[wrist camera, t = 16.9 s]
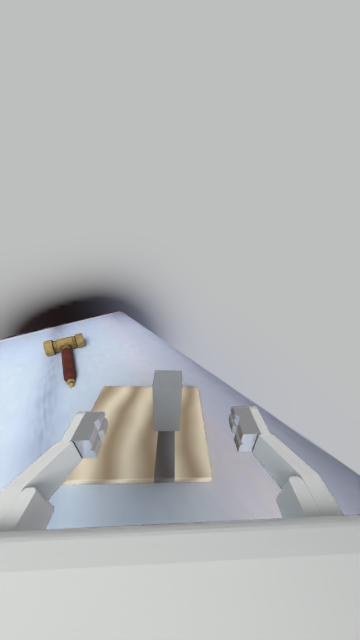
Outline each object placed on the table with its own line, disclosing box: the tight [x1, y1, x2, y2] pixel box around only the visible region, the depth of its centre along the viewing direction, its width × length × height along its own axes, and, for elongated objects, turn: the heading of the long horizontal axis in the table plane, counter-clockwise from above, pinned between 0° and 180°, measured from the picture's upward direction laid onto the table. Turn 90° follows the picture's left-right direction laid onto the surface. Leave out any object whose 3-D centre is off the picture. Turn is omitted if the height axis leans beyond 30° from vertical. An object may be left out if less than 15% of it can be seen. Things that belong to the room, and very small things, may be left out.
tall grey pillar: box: [152, 370, 182, 431], centre depth 27 cm, size 4×4×11 cm
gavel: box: [43, 333, 85, 387], centre depth 44 cm, size 21×5×10 cm
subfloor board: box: [62, 386, 212, 485], centre depth 30 cm, size 22×16×2 cm
